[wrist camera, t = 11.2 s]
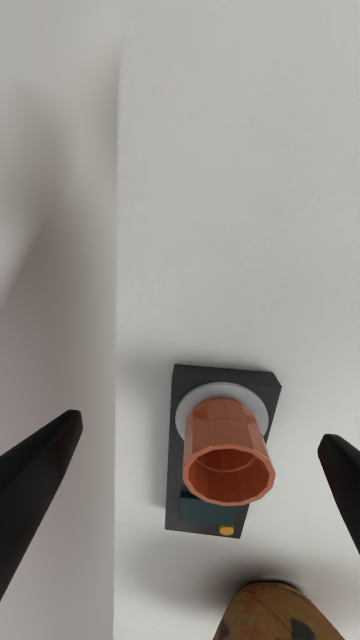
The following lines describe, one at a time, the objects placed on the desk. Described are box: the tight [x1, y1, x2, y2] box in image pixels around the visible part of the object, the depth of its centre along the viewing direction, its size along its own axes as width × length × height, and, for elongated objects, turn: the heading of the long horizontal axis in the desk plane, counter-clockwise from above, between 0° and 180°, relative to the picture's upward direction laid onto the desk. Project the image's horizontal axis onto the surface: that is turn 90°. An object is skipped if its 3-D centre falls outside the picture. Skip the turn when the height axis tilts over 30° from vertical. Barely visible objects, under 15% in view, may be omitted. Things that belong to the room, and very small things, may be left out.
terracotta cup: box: [183, 397, 276, 506], centre depth 16 cm, size 6×6×4 cm
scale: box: [165, 364, 282, 539], centre depth 21 cm, size 22×9×3 cm, turn 177°
